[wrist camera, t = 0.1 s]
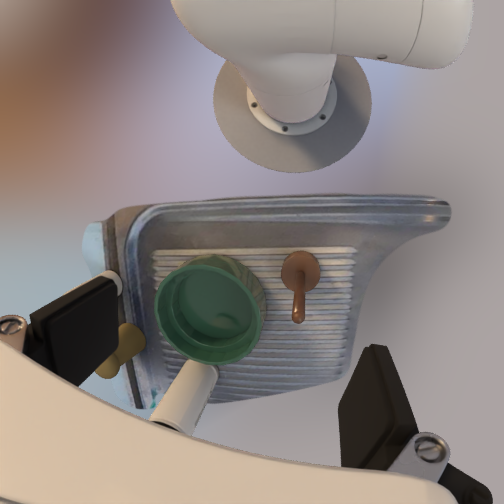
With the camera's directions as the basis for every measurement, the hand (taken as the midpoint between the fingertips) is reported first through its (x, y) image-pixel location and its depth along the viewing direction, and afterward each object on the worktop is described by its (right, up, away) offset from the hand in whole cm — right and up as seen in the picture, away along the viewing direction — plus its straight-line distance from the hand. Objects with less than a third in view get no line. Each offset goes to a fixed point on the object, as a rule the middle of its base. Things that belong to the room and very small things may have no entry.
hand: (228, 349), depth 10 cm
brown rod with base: (+8, +1, +31) cm, 32 cm away
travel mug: (-8, -17, +39) cm, 43 cm away
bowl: (-4, -4, +34) cm, 35 cm away
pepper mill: (-21, -12, +40) cm, 47 cm away
